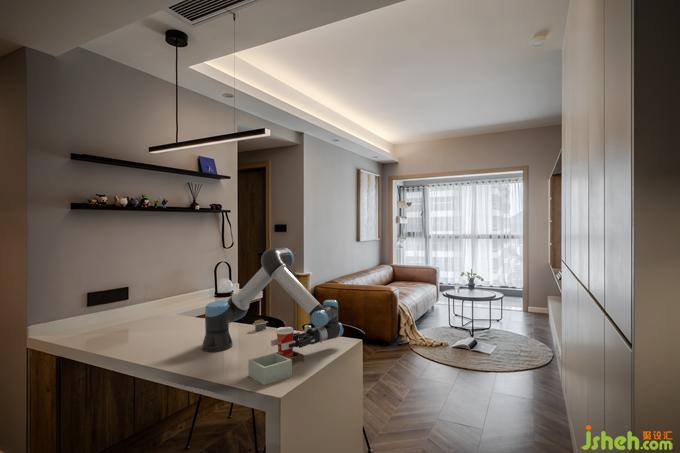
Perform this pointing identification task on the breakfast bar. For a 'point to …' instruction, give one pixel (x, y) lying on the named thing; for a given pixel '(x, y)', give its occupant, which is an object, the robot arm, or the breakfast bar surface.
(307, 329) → the valve
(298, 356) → the walnut collar
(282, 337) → the coffee cup
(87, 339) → the breakfast bar surface
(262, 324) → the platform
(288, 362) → the box
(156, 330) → the breakfast bar surface
